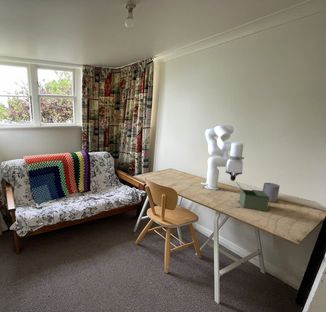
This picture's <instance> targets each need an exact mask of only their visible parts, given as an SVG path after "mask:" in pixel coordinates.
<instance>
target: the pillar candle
mask: <svg viewBox="0 0 326 312" xmlns="http://www.w3.org/2000/svg"><path fill="white" fill-rule="evenodd" d="M280 187H281V185H279V184H277V183H274V182H264V183H263V188H262V191H263V192H264V193H265V194H267V195H268V196H269V202H268V203H276V202H277V201H278V197H279V192H280Z"/></svg>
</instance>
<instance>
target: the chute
mask: <svg viewBox="0 0 326 312" xmlns="http://www.w3.org/2000/svg"><path fill="white" fill-rule="evenodd" d="M243 191H244V192H245V193H244V192H243ZM243 191H242V190H241V189H240V194H239V200H238V202H239V203H240V205H241V206H242V207H243V208H244V209H250V210H256V211H257V210H258V211H264V212H267V211H268V207H269V203H270V202H269V196H268V195H267V194H265V193H264V192H263V190H258V189H251V190H249V189H243Z"/></svg>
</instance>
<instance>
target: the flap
mask: <svg viewBox="0 0 326 312" xmlns="http://www.w3.org/2000/svg"><path fill="white" fill-rule="evenodd" d="M235 183H236V184H237V186H238V187H239V188H240V191H241V190H242V191H243V190H244V189H243V188H242V187H241V185H240V184H239V183H238V182H237V181H236V182H235ZM243 192H244V191H243ZM244 193H245V192H244Z"/></svg>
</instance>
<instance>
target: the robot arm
mask: <svg viewBox="0 0 326 312" xmlns="http://www.w3.org/2000/svg"><path fill="white" fill-rule="evenodd" d="M233 133H234V127H233V125H230V124H222V125H221V124H220V125H217V126H215V127H211V128H207V129H206V130H205V132H204V137H205V140H206V142H207V150H208V155H209V156H210V157H208V158H207V174H206V181H205V182H200V185H202V186H203V187H204V188H205V189H207V190H211V191H217V190H218V191H219V189H220V187H219V186H218V185H219V175H220V170H219V168H225V173H226V174H229V175H230V181H231V182H235V181H236V177H237V176H238V175H243V164H244V163H243V160H244V159H245V157H244V156H243V151H244V143H242V142H239V141H235V140H233V141H232V140H231V141H229V139H230V138H231V135H232V134H233ZM229 152H230V153H229Z"/></svg>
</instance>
